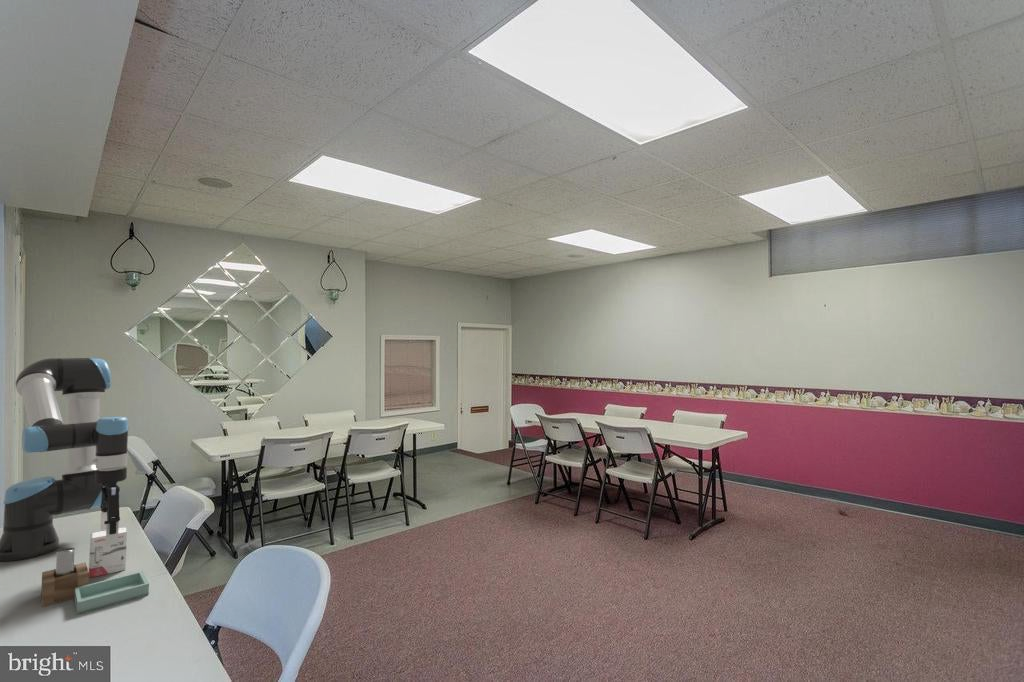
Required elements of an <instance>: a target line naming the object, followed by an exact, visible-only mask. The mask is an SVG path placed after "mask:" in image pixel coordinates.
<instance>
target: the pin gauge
mask: <svg viewBox="0 0 1024 682" xmlns="http://www.w3.org/2000/svg"><path fill="white" fill-rule="evenodd" d="M55 563H56V565H55V569H56V577H60V576H64V575H69V574H73V573H74V565H75V547H67V548H62V549H59V550H57V551H56V561H55Z"/></svg>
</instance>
